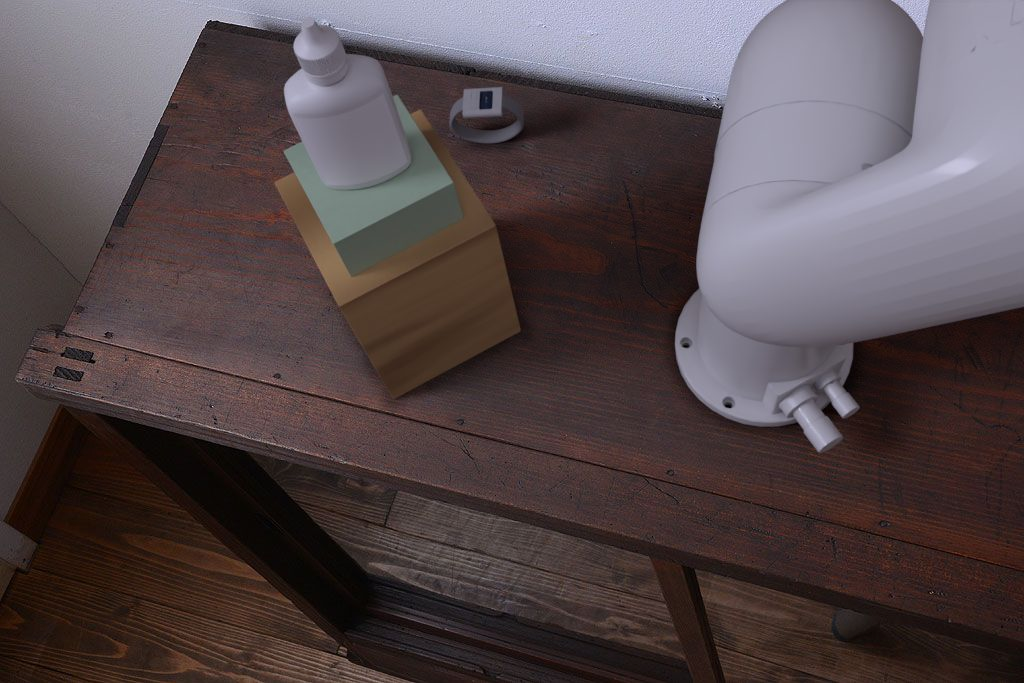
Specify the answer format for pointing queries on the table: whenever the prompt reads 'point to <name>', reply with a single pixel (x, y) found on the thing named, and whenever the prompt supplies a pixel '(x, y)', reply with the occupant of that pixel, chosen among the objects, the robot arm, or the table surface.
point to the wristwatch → (485, 115)
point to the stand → (419, 287)
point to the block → (383, 203)
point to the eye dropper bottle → (344, 112)
